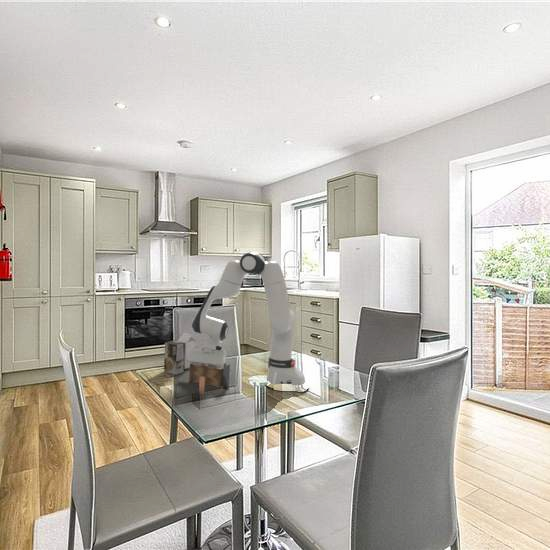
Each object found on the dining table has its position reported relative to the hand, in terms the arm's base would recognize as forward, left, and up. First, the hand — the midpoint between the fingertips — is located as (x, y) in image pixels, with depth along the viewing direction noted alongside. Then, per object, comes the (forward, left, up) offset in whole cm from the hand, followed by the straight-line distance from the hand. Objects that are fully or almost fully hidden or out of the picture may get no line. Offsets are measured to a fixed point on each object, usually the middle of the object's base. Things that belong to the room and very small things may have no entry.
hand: (200, 372), depth 202 cm
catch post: (-6, +14, -5) cm, 16 cm away
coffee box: (+19, -11, -5) cm, 23 cm away
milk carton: (+17, -22, -5) cm, 28 cm away
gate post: (-15, +4, -5) cm, 16 cm away
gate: (-4, +2, -4) cm, 6 cm away
